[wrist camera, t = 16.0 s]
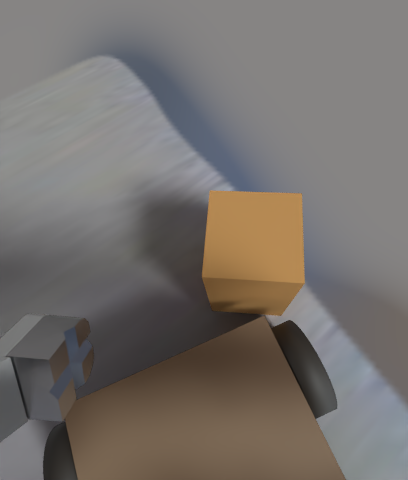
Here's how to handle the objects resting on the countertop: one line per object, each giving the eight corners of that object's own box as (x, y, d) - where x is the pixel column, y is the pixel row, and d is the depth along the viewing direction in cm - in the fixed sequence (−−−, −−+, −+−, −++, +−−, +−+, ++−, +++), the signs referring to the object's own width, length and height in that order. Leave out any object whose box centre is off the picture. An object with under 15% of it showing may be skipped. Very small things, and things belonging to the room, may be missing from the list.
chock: (280, 315, 22) (304, 283, 15) (212, 310, 23) (201, 277, 15) (280, 251, 24) (301, 193, 16) (216, 248, 24) (209, 190, 17)
